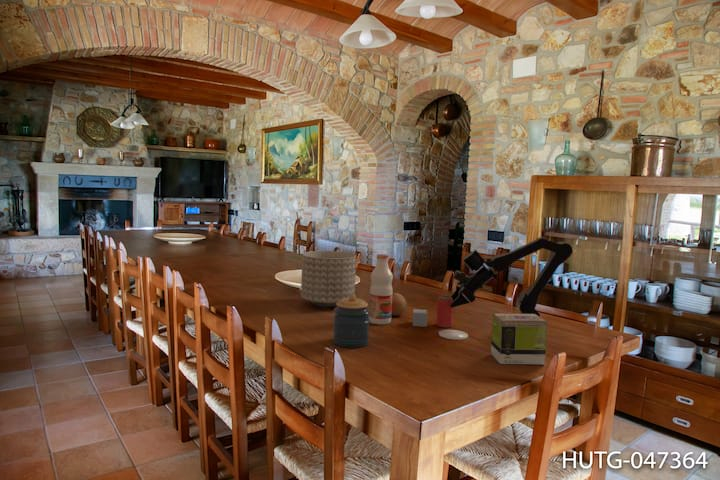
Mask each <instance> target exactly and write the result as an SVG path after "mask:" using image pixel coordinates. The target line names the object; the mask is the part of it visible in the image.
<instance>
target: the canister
mask: <svg viewBox="0 0 720 480" xmlns="http://www.w3.org/2000/svg"><path fill="white" fill-rule="evenodd" d="M336 305H337V307H333V312H334V317H333V320H332V321H333V330H332V331H333V334H332V342H333V344H334V345H336V346H338V347H341V348H347V349H358V348H364V347H366V346H367V345H368V344H369V341H370V323H371V322H370V319H369V313H370V310H369V303H368V302H366V300H364V299H361V298H359V297H358V298H357V296H356V293H355V294H350V295H349V298H344V299H341V300H340V301H338V302H337V303H336Z"/></svg>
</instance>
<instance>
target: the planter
mask: <svg viewBox="0 0 720 480" xmlns="http://www.w3.org/2000/svg"><path fill="white" fill-rule="evenodd" d="M356 263H357V255H356V254H355V253H352V252H345V251H336V250H335V251H334V250H332V251H331V250H317V251H306V252H302V253H301V285H300V286H301V287H300V291H301V292H300V296H301V299H303V300H306V301H308V302H309V303H311V304H312V305H314V306H316V307H319V308H329V309H330V308H336V307H337V305H336V303H337V302H338V301H340V300H341V299H344V298H349V295H350V294H355V295H356V268H357V265H356Z"/></svg>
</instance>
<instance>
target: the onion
mask: <svg viewBox="0 0 720 480" xmlns="http://www.w3.org/2000/svg"><path fill="white" fill-rule="evenodd" d="M407 307H408V303H407V300H406V298H405V297H404V296H403V295H402V294H400V293H397V292H393V294H392V315H391V316H395V317H399V316H401V315H403V314H404V313H405V312H406V310H407Z"/></svg>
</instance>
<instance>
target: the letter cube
mask: <svg viewBox="0 0 720 480" xmlns="http://www.w3.org/2000/svg"><path fill="white" fill-rule="evenodd" d="M427 324H428V310H427V309H416V308H413V310H412V327H423V328H424V327H426V328H428V327H427V326H428V325H427Z"/></svg>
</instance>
